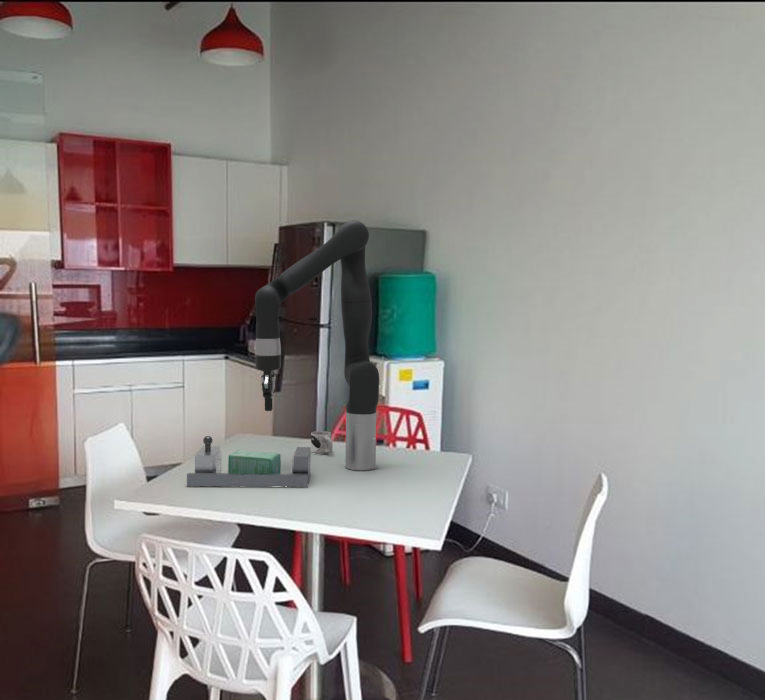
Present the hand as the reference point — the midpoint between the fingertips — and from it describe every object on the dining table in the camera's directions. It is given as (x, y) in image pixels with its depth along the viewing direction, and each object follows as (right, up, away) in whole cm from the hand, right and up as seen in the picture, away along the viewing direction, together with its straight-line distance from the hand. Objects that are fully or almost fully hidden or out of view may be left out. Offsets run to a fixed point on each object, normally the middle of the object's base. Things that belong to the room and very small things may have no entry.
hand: (268, 410), depth 219 cm
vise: (-3, -19, -11) cm, 22 cm away
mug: (+15, -17, +23) cm, 32 cm away
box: (-3, -19, -9) cm, 22 cm away
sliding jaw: (-16, -19, -10) cm, 27 cm away
